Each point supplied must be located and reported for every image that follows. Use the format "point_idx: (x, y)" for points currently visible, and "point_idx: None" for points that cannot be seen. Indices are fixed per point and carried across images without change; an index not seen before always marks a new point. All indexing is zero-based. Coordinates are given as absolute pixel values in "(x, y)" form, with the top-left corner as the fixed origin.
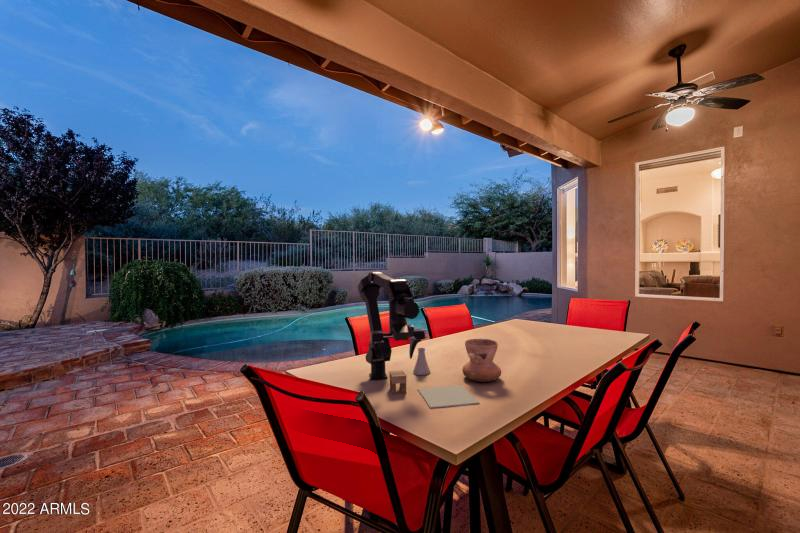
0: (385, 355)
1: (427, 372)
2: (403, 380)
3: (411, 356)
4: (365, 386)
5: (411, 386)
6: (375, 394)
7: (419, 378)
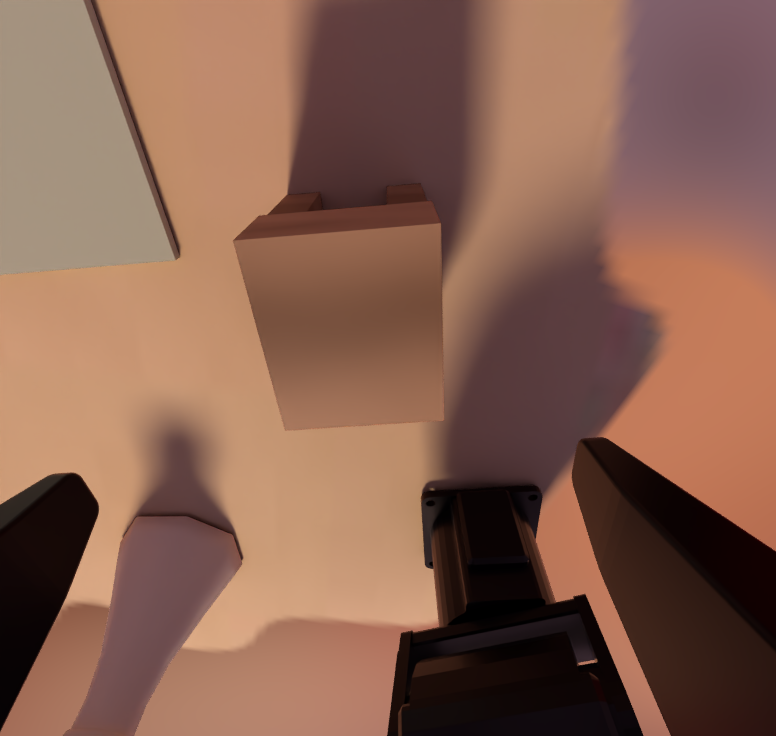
0: (647, 515)
1: (131, 532)
2: (288, 218)
3: (11, 503)
4: (610, 385)
5: (243, 339)
6: (580, 199)
7: (191, 472)
